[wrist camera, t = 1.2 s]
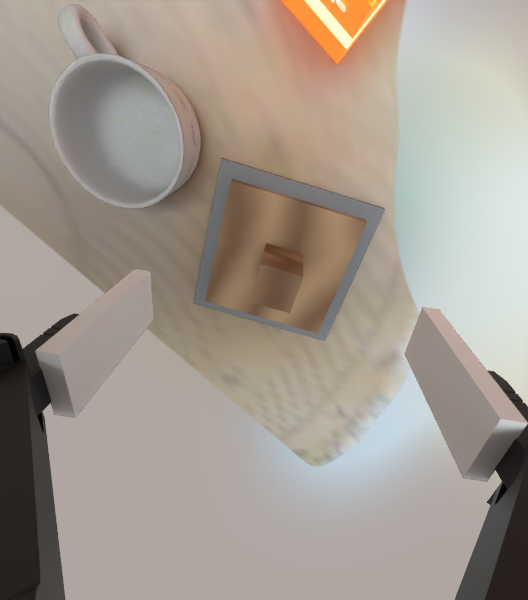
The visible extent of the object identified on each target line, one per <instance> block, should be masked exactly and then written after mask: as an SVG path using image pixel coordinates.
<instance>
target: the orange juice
mask: <svg viewBox="0 0 528 600" xmlns="http://www.w3.org/2000/svg"><path fill="white" fill-rule="evenodd" d="M281 1H282V2H283V3H284V4H285V5H286V6H287V7H288V9H289V10H290V11H291V12H292V13H293V14H294V15H295V16H296V18H297V19H298V20H299V21H300V22H301V23H302V24H303V26H304V27H305V28H306V29H307V30H308V31H309V32H310V34H311V35H312V36H313V37H314V38H315V39H316V40H317V42H318V43H319V44H320V45H321V46H322V47H323V48H324V50H325V51H326V52H327V53H328V54H329V55H330V56H331V58H332V59H333V60H334V61H335V62H336V63H337V64H338V63H339V61H340V60H341V59H342V58H343V56H344V55H345V54H346V53H347V51H348V50H349V49H350V48H351V46H352V45H353V44H354V43H355V41H356V40H357V39H358V37H359V36H360V35H361V34H362V32H363V31H364V30H365V29H366V27H367V26H368V25H369V24H370V22H371V21H372V20H373V19H374V17H375V16H376V15H377V14H378V12H379V11H380V10H381V8H382V7H383V6H384V5H385V3H386V2H387V1H388V0H281Z"/></svg>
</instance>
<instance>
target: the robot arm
mask: <svg viewBox="0 0 528 600" xmlns="http://www.w3.org/2000/svg"><path fill="white" fill-rule="evenodd" d="M153 320H154V315H153V302H152V289H151V276H150V271H145V270H138V269H134V270H133V271H132V272H131V273H129V274H128V275H127V276H126V277H125V278H123V279H122V280H121V281H120V282H119V283H117V284H116V285H115V286H114V287H112V288H111V289H110V290H109V291H108V292H106V293H105V294H104V295H103V296H101V297H100V298H99V299H98V300H97V301H95V302H94V303H93V304H92V305H91V306H90V307H88V308H87V309H86V310H84V311H83V312H82V313H81V314H72V315H70V316H67V317H65V318H63V319H61V320H59V321H58V322H57V323H55V324H54V325H53V326H52V327H51V328H49V329H48V330H47V331H45V332H44V333H43V335H40V336H39V337H38V338H36V339H35V340H34V341H32V342H31V343H30V344H28V345H27V346H26V347H25V348H23V349H22V347H21V344H20V341H19V338H18V337H17V336H16V335H14V334H11V333H0V600H65V593H64V584H63V576H62V566H61V558H60V550H59V540H58V532H57V523H56V515H55V505H54V496H53V489H52V479H51V470H50V462H49V453H48V445H47V435H46V426H45V418H44V415H43V412H42V411H43V410H44V409H45V408H46V407H47V406H48V405H49V404H50V403H51V405H52V408H53V412H54V415H59V416H65V417H72V418H76V417H77V416H78V415H79V413H80V412H81V411H82V409H83V408H84V407H85V406H86V404H87V403H88V402H89V401H90V399H91V398H92V397H93V396H94V394H95V393H96V392H97V390H98V389H99V388H100V387H101V385H102V384H103V383H104V381H105V380H106V379H107V378H108V377H109V375H110V374H111V373H112V371H113V370H114V369H115V368H116V366H117V365H118V364H119V363H120V361H121V360H122V359H123V358H124V356H125V355H126V354H127V352H128V351H129V350H130V349H131V347H132V346H133V345H134V344H135V342H136V341H137V340H138V339H139V337H140V336H141V335H142V333H143V332H144V331H145V330H146V328H147V327H148V326H149V325H150V323H151V322H152V321H153ZM405 356H406V358H407V360H408V362H409V364H410V367H411V369H412V371H413V373H414V375H415V377H416V379H417V381H418V384H419V386H420V388H421V390H422V392H423V394H424V396H425V398H426V400H427V403H428V405H429V407H430V409H431V411H432V413H433V415H434V418H435V420H436V422H437V424H438V426H439V428H440V430H441V432H442V435H443V437H444V439H445V441H446V443H447V445H448V447H449V449H450V451H451V454H452V456H453V458H454V460H455V462H456V464H457V466H458V469H459V471H460V473H461V475H462V477H463V478H465V479H472V480H478V481H484V482H487V481H488V480H489V478H490V477H491V475H492V474H493V473H494V471H495V470H496V471H497V473H498V475H499V477H500V478H501V480H502V482H501V484H500V485H499V487H498V488H497V489H496V491H495V492H494V494H493V495H492V496H491V498H490V499H489V500H488V501H487V503H489V504H490V505H491V506H490V508H489V511H488V514H487V516H486V519H485V522H484V524H483V527H482V529H481V532H480V535H479V537H478V540H477V543H476V545H475V548H474V551H473V553H472V556H471V558H470V561H469V563H468V566H467V569H466V572H465V574H464V577H463V579H462V582H461V584H460V587H459V590H458V592H457V595H456V598H455V600H528V407H527V405H526V404H525V403H523V400H522V399H521V398H520V397H519V396H518V394H515V391H514V390H513V388H512V387H511V386H510V385H509V384H508V382H507V381H505V380H504V379H503V378H502V377H500V376H499V375H498V374H496V373H495V372H494V371H487V370H486V369H485V367H484V366H483V365H482V363H481V362H480V361H479V360H478V358H477V357H476V356H475V355H474V353H473V352H472V351H471V349H470V348H469V347H468V346H467V344H466V343H465V342H464V341H463V339H462V338H461V337H460V335H459V334H458V333H457V332H456V330H455V329H454V328H453V327H452V325H451V324H450V323H449V321H448V320H447V319H446V318H445V316H444V315H443V314H442V313H441V311H440V310H439V309H432V308H425V307H422V310H421V312H420V315H419V318H418V320H417V323H416V326H415V328H414V331H413V333H412V336H411V339H410V341H409V344H408V346H407V349H406V352H405Z"/></svg>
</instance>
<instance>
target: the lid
mask: <svg viewBox="0 0 528 600" xmlns="http://www.w3.org/2000/svg"><path fill="white" fill-rule="evenodd" d="M366 224H367V222H366V220H365V219H362V218H359V217H356V216H352V215H349V214H346V213H343V212H339V211H336V210H333V209H330V208H326V207H323V206H320V205H317V204H313V203H310V202H307V201H304V200H300V199H297V198H294V197H290V196H287V195H284V194H281V193H277V192H274V191H271V190H268V189H264V188H261V187H258V186H255V185H251V184H248V183H245V182H242V181H238V180H235V179H232V180H231V182H230V186H229V191H228V196H227V200H226V205H225V210H224V215H223V219H222V224H221V229H220V233H219V238H218V243H217V247H216V252H215V257H214V261H213V266H212V271H211V275H210V280H209V285H208V290H207V294H206V299H205V301H206V302H209V303H213V304H216V305H220V306H223V307H227V308H230V309H234V310H237V311H241V312H244V313H247V314H251V315H254V316H258V317H261V318H265V319H268V320H272V321H275V322H279V323H282V324H286V325H289V326H293V327H296V328H300V329H303V330H307V331H310V332H314V333H317V334H318V333H319V330H320V328H321V326H322V324H323V321H324V319H325V317H326V315H327V312H328V310H329V308H330V305H331V303H332V301H333V299H334V296H335V294H336V292H337V290H338V287H339V285H340V283H341V280H342V278H343V276H344V274H345V271H346V269H347V267H348V265H349V262H350V260H351V258H352V256H353V253H354V251H355V249H356V246H357V244H358V242H359V240H360V237H361V235H362V233H363V231H364V228H365V226H366Z"/></svg>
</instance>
